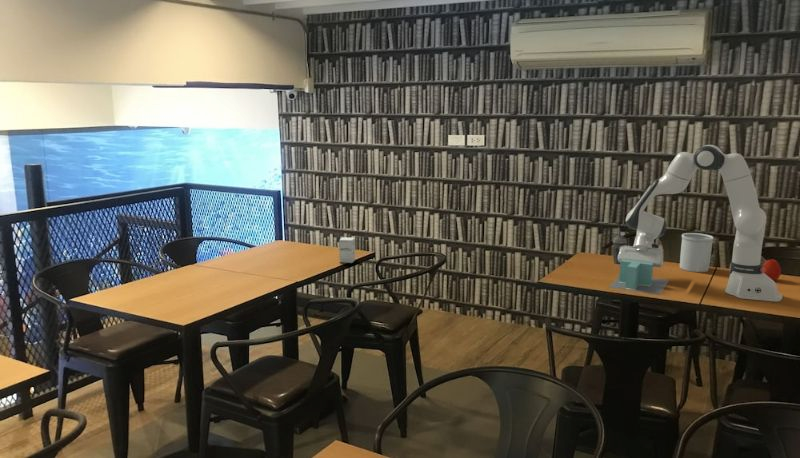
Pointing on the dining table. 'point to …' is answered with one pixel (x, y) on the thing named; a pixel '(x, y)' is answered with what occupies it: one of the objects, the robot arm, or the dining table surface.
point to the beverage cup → (618, 246)
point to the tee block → (635, 273)
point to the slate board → (643, 286)
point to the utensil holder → (695, 252)
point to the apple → (772, 269)
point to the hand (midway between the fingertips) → (637, 271)
